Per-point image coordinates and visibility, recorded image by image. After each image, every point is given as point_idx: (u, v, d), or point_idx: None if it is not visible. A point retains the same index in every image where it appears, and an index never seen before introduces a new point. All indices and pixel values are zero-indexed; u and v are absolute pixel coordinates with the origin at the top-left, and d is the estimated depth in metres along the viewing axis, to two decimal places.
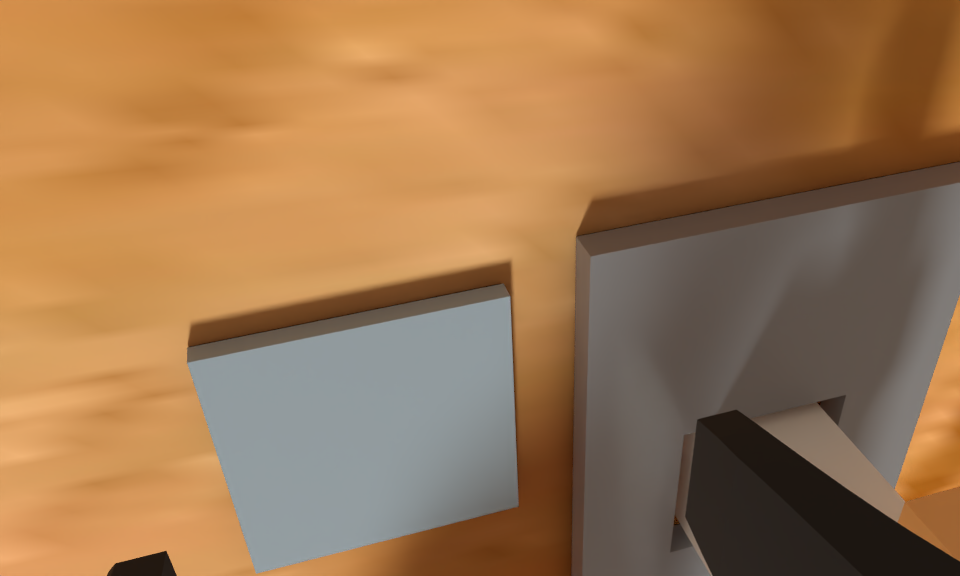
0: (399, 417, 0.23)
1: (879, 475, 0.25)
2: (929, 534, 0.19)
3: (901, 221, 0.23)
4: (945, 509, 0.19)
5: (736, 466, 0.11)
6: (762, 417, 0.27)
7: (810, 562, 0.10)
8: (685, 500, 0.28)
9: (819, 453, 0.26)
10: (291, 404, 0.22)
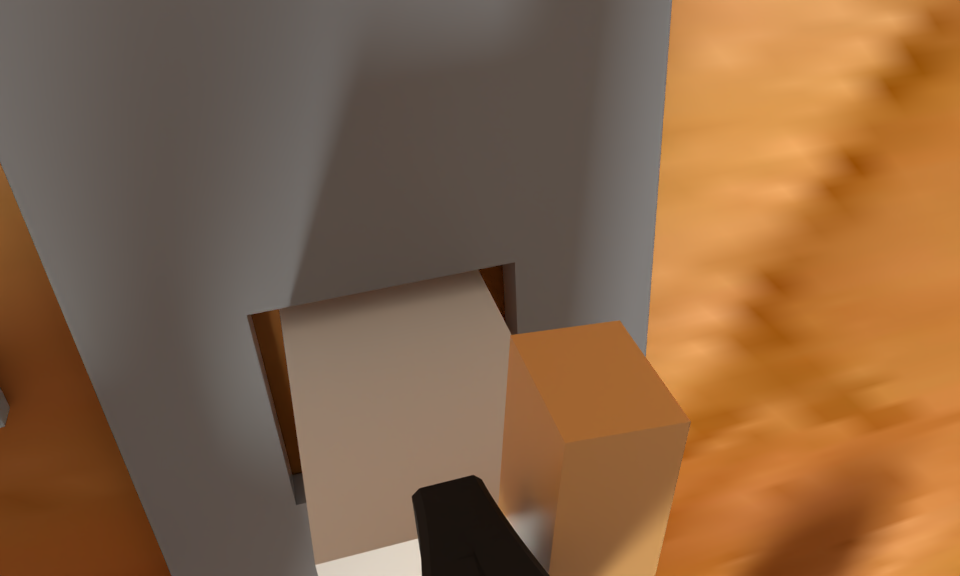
0: None
1: None
2: (531, 384, 0.10)
3: None
4: (575, 349, 0.11)
5: None
6: (394, 297, 0.18)
7: None
8: None
9: (451, 342, 0.17)
10: None
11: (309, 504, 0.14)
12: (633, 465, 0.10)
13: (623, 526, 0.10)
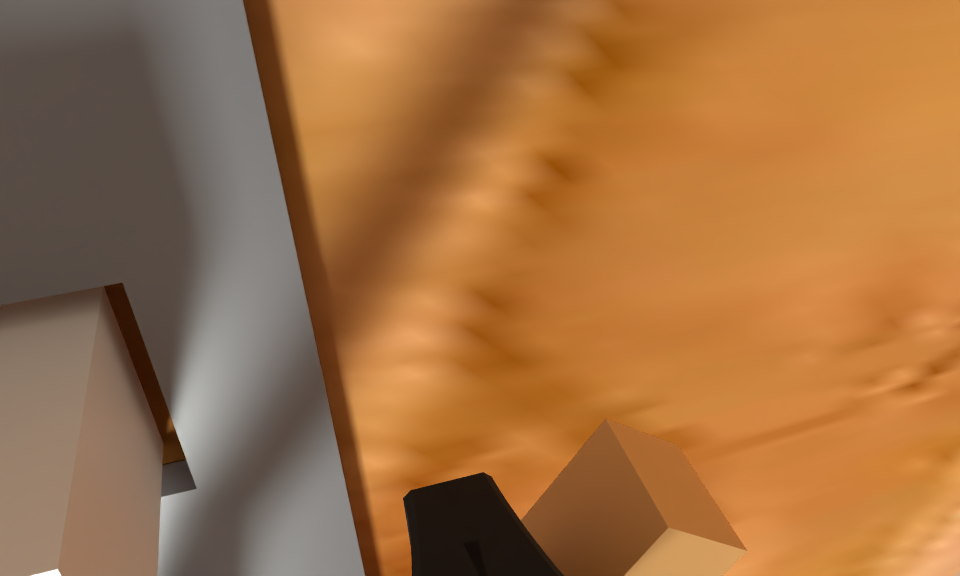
0: None
1: (78, 412, 0.14)
2: (624, 467, 0.11)
3: None
4: (654, 453, 0.12)
5: None
6: None
7: None
8: None
9: (18, 377, 0.15)
10: None
11: None
12: (689, 569, 0.11)
13: None
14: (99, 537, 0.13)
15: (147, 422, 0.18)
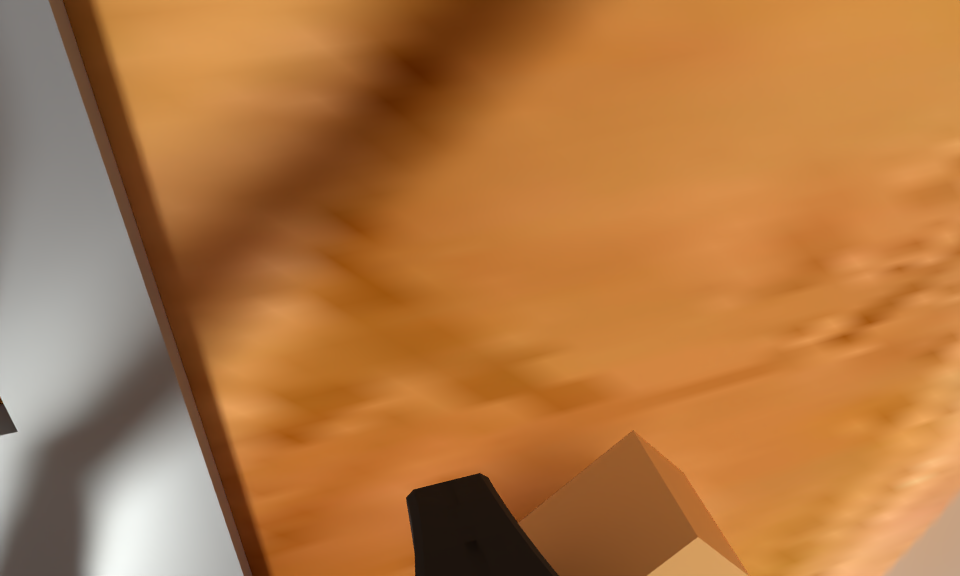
0: None
1: None
2: (651, 477, 0.12)
3: None
4: (670, 472, 0.12)
5: None
6: None
7: None
8: None
9: None
10: None
11: None
12: None
13: None
14: None
15: None
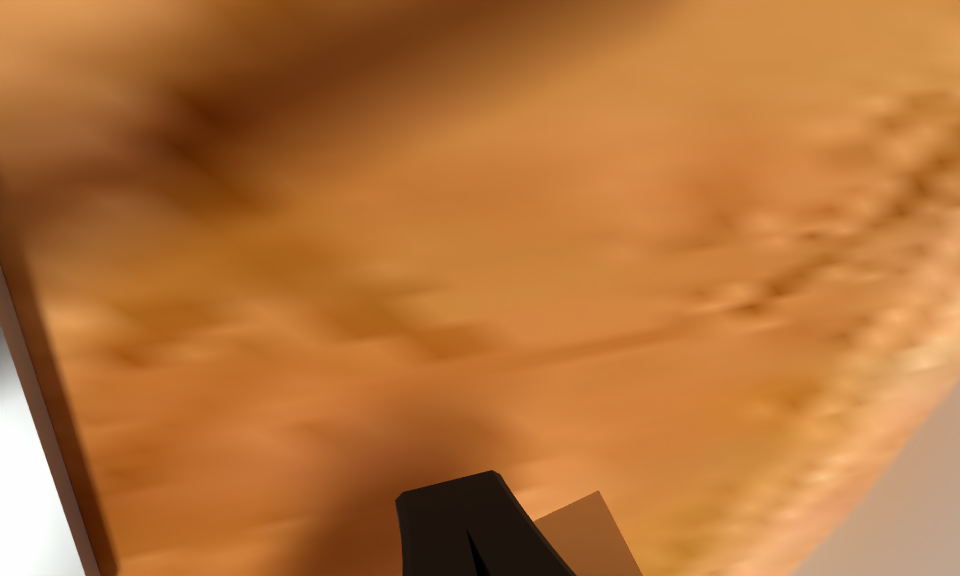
0: None
1: None
2: (613, 536, 0.12)
3: None
4: None
5: (467, 536, 0.10)
6: None
7: None
8: None
9: None
10: None
11: None
12: None
13: None
14: None
15: None
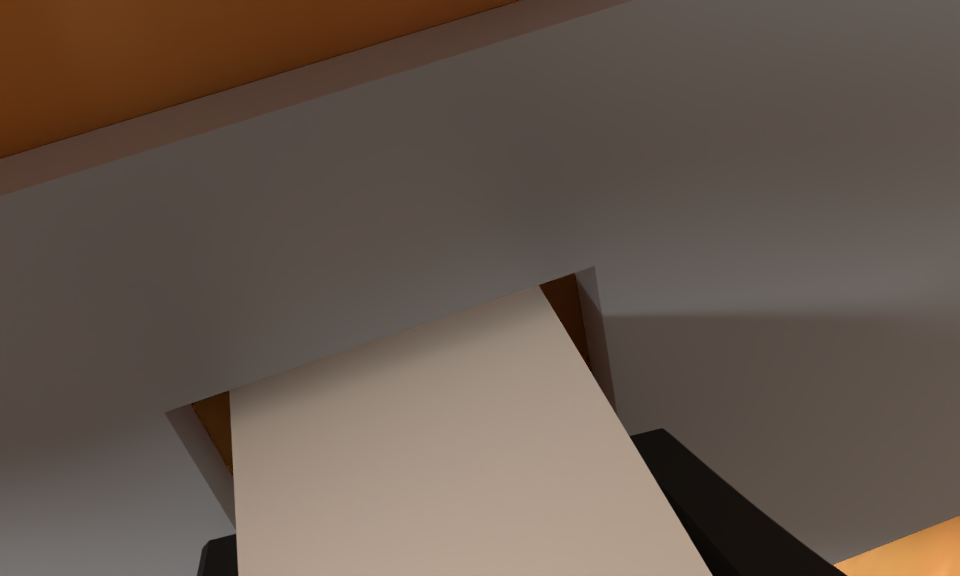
0: None
1: None
2: None
3: None
4: None
5: None
6: None
7: None
8: (330, 375, 0.11)
9: None
10: None
11: None
12: None
13: None
14: None
15: None
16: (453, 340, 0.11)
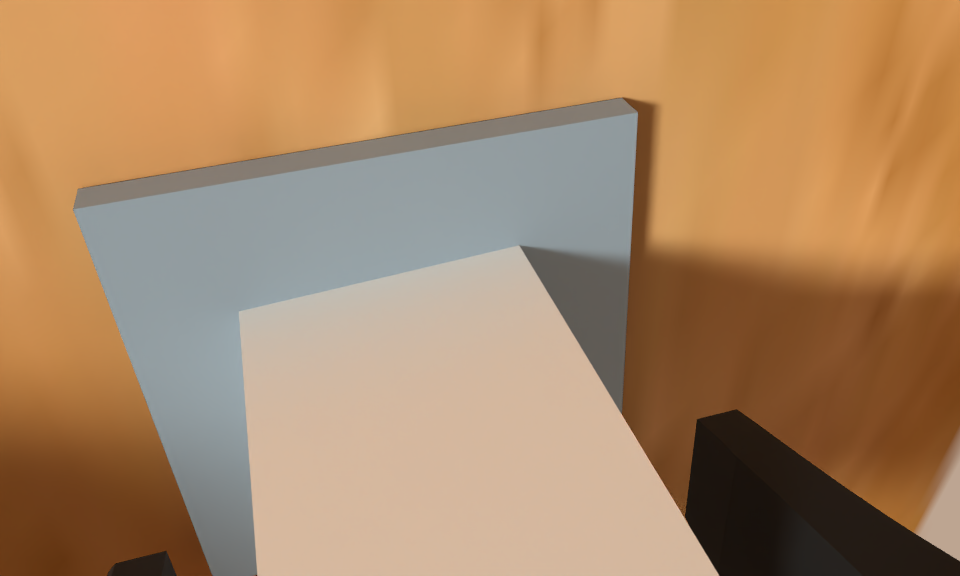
0: None
1: None
2: None
3: None
4: None
5: (736, 466, 0.11)
6: None
7: (810, 562, 0.10)
8: (334, 314, 0.12)
9: None
10: None
11: (689, 529, 0.09)
12: None
13: None
14: None
15: None
16: (446, 293, 0.13)
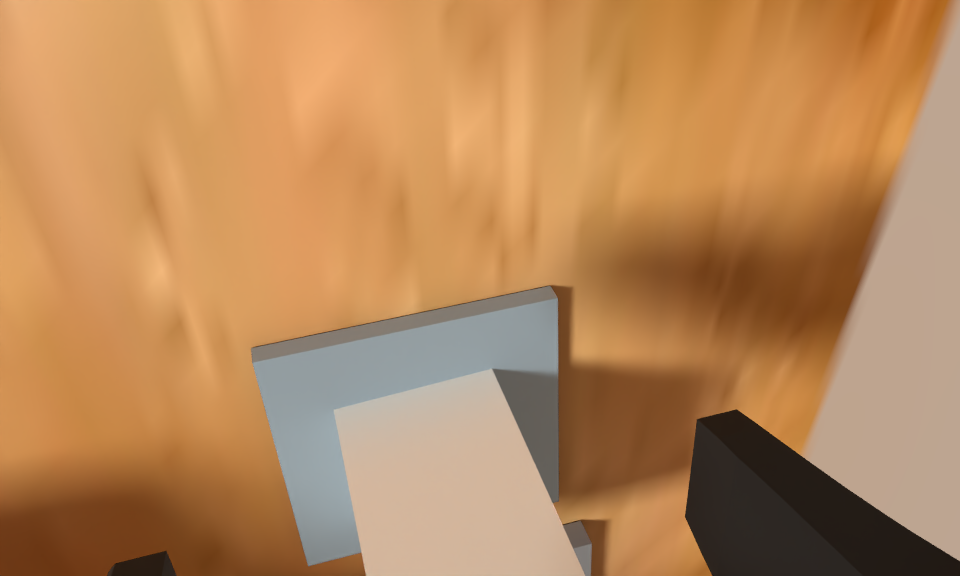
0: None
1: None
2: None
3: None
4: None
5: (736, 466, 0.11)
6: None
7: (810, 562, 0.10)
8: (387, 412, 0.22)
9: None
10: None
11: (565, 532, 0.19)
12: None
13: None
14: None
15: None
16: (450, 400, 0.22)
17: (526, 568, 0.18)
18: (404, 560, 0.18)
